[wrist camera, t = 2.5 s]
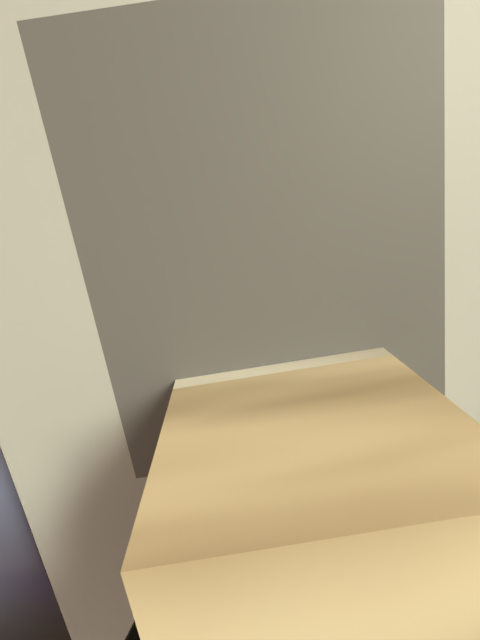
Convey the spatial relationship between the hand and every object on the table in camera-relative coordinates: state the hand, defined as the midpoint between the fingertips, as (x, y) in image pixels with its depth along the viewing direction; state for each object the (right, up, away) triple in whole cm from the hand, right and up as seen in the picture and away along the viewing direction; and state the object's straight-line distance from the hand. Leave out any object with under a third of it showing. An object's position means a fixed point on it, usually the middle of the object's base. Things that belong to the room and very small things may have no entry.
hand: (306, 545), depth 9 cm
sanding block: (0, 0, +1) cm, 1 cm away
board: (-1, +4, +1) cm, 4 cm away
